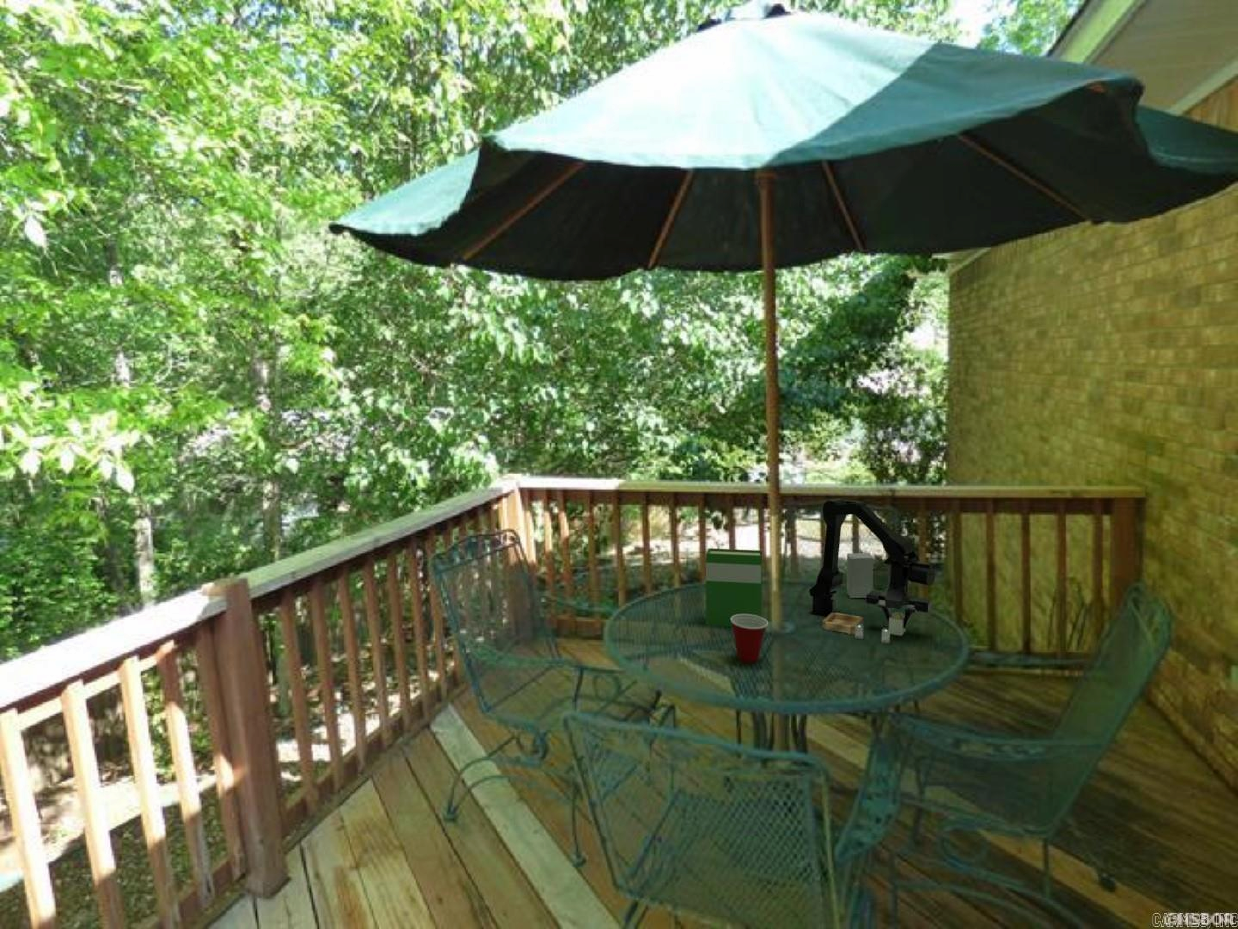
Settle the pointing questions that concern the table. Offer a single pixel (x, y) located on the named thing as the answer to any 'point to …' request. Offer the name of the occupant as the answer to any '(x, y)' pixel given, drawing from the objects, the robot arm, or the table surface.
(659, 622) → the table surface
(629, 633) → the table surface
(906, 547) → the robot arm
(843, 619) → the wooden tray
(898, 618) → the plug block
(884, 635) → the peg
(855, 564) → the skincare box
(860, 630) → the peg
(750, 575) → the hardback book
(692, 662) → the table surface
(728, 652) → the table surface
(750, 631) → the plastic cup
